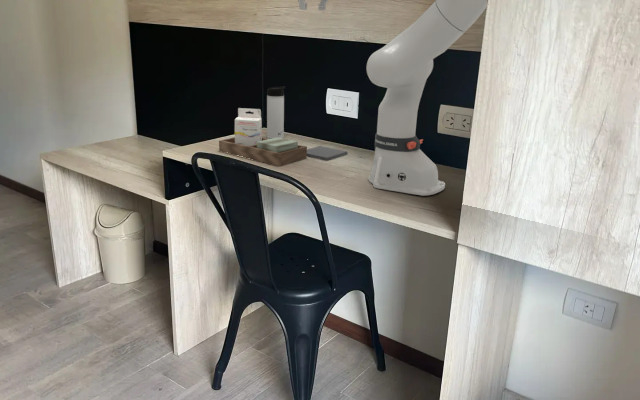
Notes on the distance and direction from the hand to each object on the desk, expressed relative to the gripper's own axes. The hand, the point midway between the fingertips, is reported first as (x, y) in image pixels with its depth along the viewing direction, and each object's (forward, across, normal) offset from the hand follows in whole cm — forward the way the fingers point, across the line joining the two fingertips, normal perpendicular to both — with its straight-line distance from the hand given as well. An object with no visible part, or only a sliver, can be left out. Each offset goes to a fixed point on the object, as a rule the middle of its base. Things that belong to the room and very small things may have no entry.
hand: (312, 9), depth 168 cm
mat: (+47, +10, +1) cm, 48 cm away
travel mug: (+47, +16, +28) cm, 57 cm away
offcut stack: (+47, -5, +9) cm, 48 cm away
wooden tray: (+47, -5, +16) cm, 50 cm away
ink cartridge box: (+47, -5, +22) cm, 53 cm away
